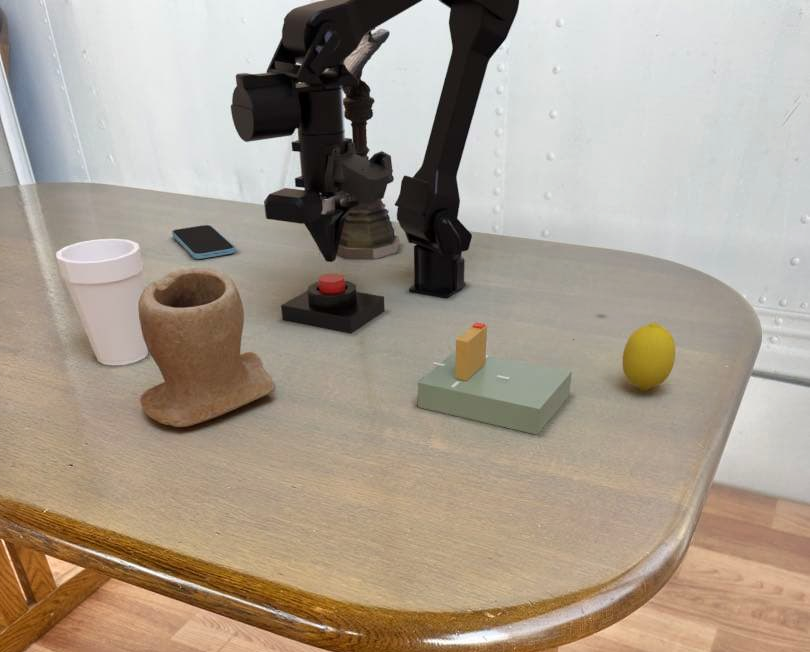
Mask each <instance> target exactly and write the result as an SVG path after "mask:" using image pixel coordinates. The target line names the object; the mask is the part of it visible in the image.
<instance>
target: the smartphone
mask: <svg viewBox="0 0 810 652" xmlns="http://www.w3.org/2000/svg"><path fill="white" fill-rule="evenodd" d="M171 234H172V235H171V236H172V237H173V238H174V239H175V240H176V242H178V244H179V245H180V246H181V247H182V248H183V249H185V251H186V252H187V253H188V254H189V255H190V256H191V257H192V258H193V259H197V260H200V259H208V258H212V257H213V258H215V257H219V256H220V257H221V256H225V255H230V254H234V253H236V248H235V245H234V244H232V242H230V241H229V240H228V239H227V238H226V237H225V236H224V235H223V234H221V233H220V232H219V231H218V230H217V229H216V228H214V227H213V226H212V225H211V224H203V225H195V226H188V227H182V228H177V229H176V228H175V229H173V230H172V231H171Z"/></svg>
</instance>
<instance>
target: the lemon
mask: <svg viewBox="0 0 810 652" xmlns="http://www.w3.org/2000/svg"><path fill="white" fill-rule="evenodd" d="M675 359H676V344H675V340H674V338H673V335H672V334H671V332H670V331H668V329H666V328H665V327H663V326H661V325H659V323H658V322H656V321H652V322H650V323H649V324H645V325H642V326H640V327H638V328H637V329H635V330H634V331H633V332H632V333H631V334H630V336H629V338H628V339H627V340H626V343H625V346H624V349H623V352H622V363H621V365H622V371H623V373H624V376H625V378H626V379H627V381H628V382H630V384H632V385H633V386H635V387H637V388H638V389H639V391H641V392H646V391H647V390H650V388H651V389H652V388H655V387H658V386H659V385H661V384H662V383H664V382H665V381H666V380H667V378H668V377H669V376H670V374H671V373H672V371H673V368H674V364H675Z"/></svg>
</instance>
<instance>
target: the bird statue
mask: <svg viewBox="0 0 810 652" xmlns="http://www.w3.org/2000/svg"><path fill="white" fill-rule="evenodd" d="M375 30H376V28H374V29H372V30H371V31H370V32H369V33H368V34H367V35H366V36H365V37H364V38H363V40H362V41H361V43H360V45H359V46H358V48H357V49H356V50H355V51H354V52H353V53H351V54H350V55H349V56H348V57H347V58H346V59H345V60H344V61H343V62H341V63H340V64H344V65H345V66H346V68H347V69H348V71H349V72H350V73H351V74H352V75H353V76H354V77H355V78H357V79H358V81H359V84H358V85H357V86H353V87H344V88H342V89H343V94H345V97H343V107H344V119H346V120H348V121H349V122H351V123H350V127H351V136H352V137H351V138H352V142H354V146H355V154H357V155H359V156H361V157H365V156H368V154H369V152H370V151H371V150H370V148H369V146H368V141H367V140H368V138H367V137H368V136H367V125H368V121H369V120H372V118H373V116H374V110H373V109H372V108H373V105H374V104H375V99H374V97H372V96H371V88H370V86H369V85H368V84H367V83H366V81H364V80H362V79H361V78H362V76H363V71H364V68H365V66H366V65H367V63H368V62H369V61H370V60H371V58H372V57H373V55H375V53H376V52H377V51H378V50H379V49H380V48H381V46H382V45H383V44H384V43H386V42H387V40H388V38H389V37H390V33H391V31H389V30H388V29H386V28H379V29H377V30H376V31H375ZM372 31H374V32H372ZM329 70H330V69H326V70H325V71H324V72H327V71H329ZM297 83H300V82H296V84H297ZM348 195H350V194H348ZM350 201H357V202H359V201H358V200H357V198H355V197H353V196H352V195H350ZM389 212H390V210H389V209H387V208H386V204H385V203H384V202H383V200H382V199H378V200H375V201H374V202H373V203H372V204H363V203H361V202H359V205H358V206H357V207H356V208H354V209H353V210H352V211H351V212H350V213H349V214H348V215H347V217H346V219H345V222H344V226H343V230H342V234H341V238H340V242H339V247H338V251H337V255H336V256H339V257H341V258H345V259H351V260H352V259H353V260H355V259H356V260H375V259H378V258H382V257H386V256H390V255H393V254H397V252H398V249H399V246H400V236H399V235H397V234H395V228H394V226H393V222H392V220H391V216H390V215H389Z"/></svg>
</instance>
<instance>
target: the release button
mask: <svg viewBox="0 0 810 652" xmlns="http://www.w3.org/2000/svg"><path fill="white" fill-rule="evenodd" d="M345 281H346V277H345V275H344V274H341V273H333V272H332V273H325V274H321V275H320V276H318V278H317V282H318V285H319V292H323V293H338V292H343V291H344V290H345Z"/></svg>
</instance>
